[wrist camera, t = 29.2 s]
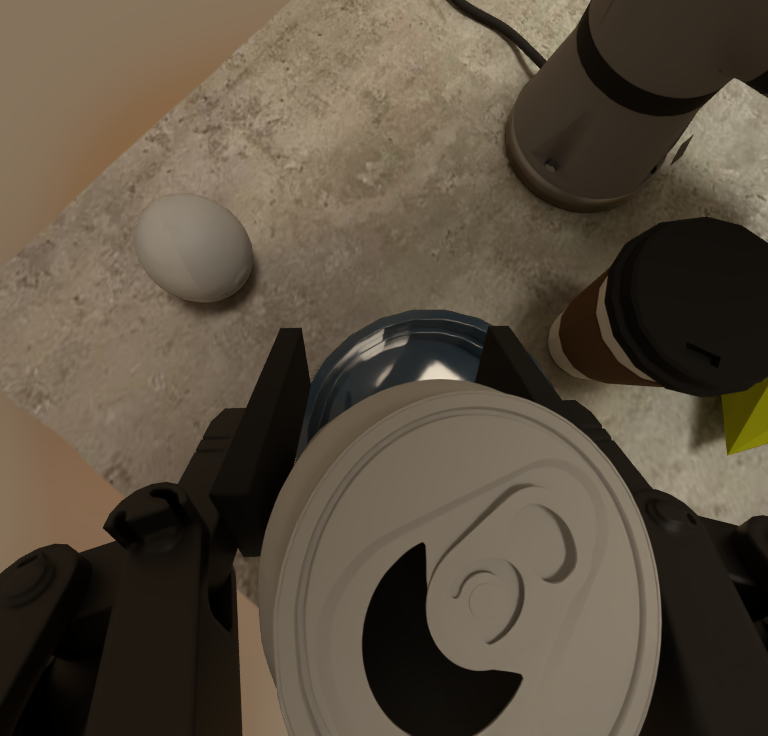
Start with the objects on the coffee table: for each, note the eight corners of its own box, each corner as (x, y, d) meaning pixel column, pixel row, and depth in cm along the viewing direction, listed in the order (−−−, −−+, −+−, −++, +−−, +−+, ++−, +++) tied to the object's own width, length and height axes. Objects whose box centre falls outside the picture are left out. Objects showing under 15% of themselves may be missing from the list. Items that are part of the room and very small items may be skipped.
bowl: (311, 328, 29) (299, 309, 24) (523, 326, 30) (554, 309, 25) (307, 562, 26) (293, 597, 21) (543, 552, 27) (582, 584, 22)
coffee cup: (615, 423, 29) (788, 430, 17) (504, 372, 29) (598, 342, 17) (650, 318, 30) (831, 256, 18) (545, 270, 31) (658, 178, 19)
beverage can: (269, 466, 15) (106, 591, 3) (376, 386, 17) (509, 288, 5) (350, 577, 15) (471, 1114, 3) (450, 484, 16) (760, 612, 5)
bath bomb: (284, 268, 29) (253, 215, 21) (223, 333, 28) (166, 301, 20) (220, 216, 30) (166, 144, 22) (157, 277, 29) (76, 225, 21)
